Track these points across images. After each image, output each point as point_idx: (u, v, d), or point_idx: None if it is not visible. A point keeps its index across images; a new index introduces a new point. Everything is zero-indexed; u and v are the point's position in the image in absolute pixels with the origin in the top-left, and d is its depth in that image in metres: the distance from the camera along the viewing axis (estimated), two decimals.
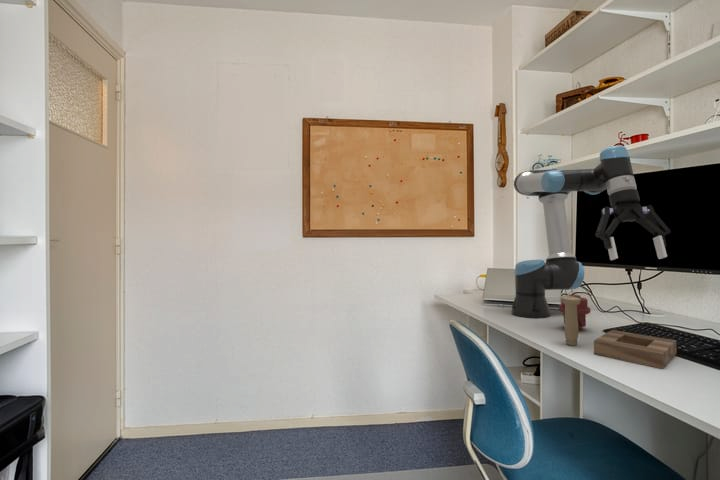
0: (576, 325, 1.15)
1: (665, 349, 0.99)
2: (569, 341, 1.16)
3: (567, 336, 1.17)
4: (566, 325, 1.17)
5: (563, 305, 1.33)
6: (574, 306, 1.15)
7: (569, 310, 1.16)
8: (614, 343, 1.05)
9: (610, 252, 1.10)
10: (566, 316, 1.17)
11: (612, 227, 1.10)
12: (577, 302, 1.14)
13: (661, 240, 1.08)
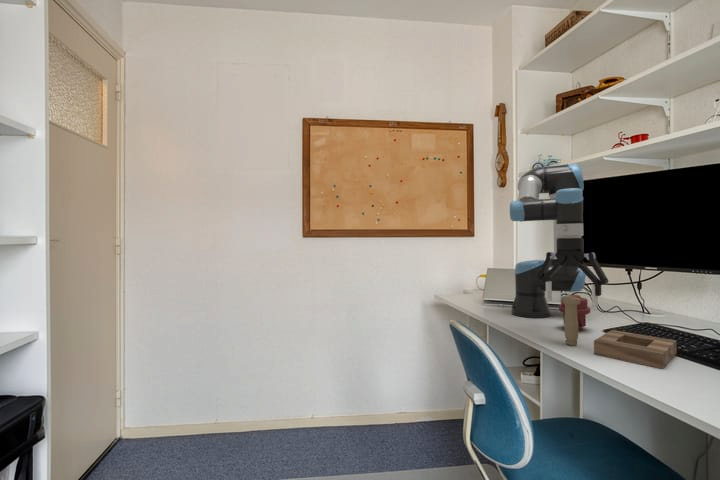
0: (576, 325, 1.15)
1: (665, 349, 0.99)
2: (569, 341, 1.16)
3: (567, 336, 1.17)
4: (566, 325, 1.17)
5: (563, 305, 1.33)
6: (574, 306, 1.15)
7: (569, 310, 1.16)
8: (614, 343, 1.05)
9: None
10: (566, 316, 1.17)
11: (549, 272, 1.20)
12: (577, 302, 1.14)
13: (592, 290, 1.10)
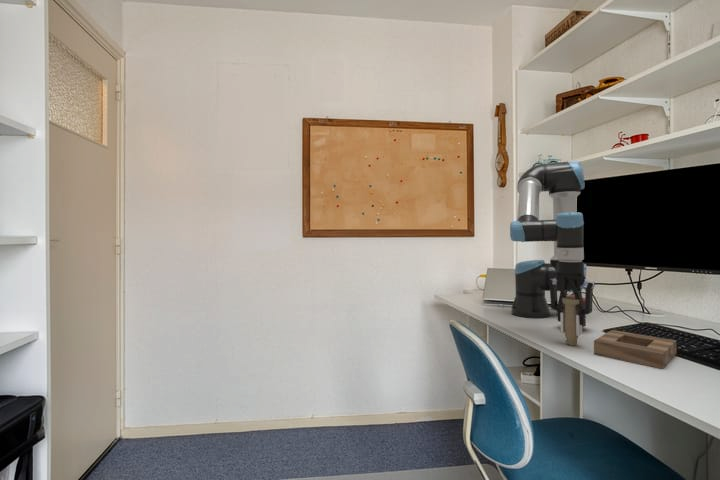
0: None
1: (665, 349, 0.99)
2: (569, 341, 1.16)
3: (567, 336, 1.17)
4: (566, 325, 1.17)
5: None
6: (574, 306, 1.15)
7: (569, 310, 1.16)
8: (614, 343, 1.05)
9: None
10: (566, 316, 1.17)
11: (559, 301, 1.18)
12: (577, 302, 1.14)
13: (577, 319, 1.14)
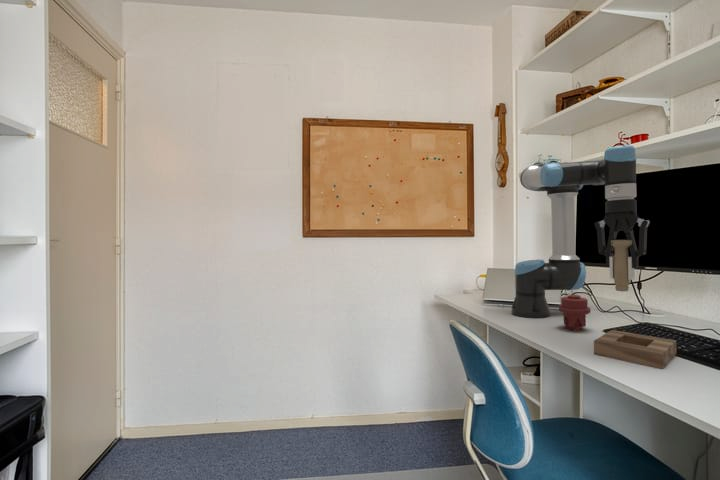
0: (627, 269, 1.06)
1: (665, 349, 0.99)
2: (620, 287, 1.07)
3: (617, 281, 1.07)
4: (616, 269, 1.07)
5: (563, 305, 1.33)
6: (625, 248, 1.06)
7: (620, 253, 1.06)
8: (614, 343, 1.05)
9: None
10: (616, 260, 1.07)
11: (608, 244, 1.09)
12: (629, 243, 1.04)
13: (629, 262, 1.05)
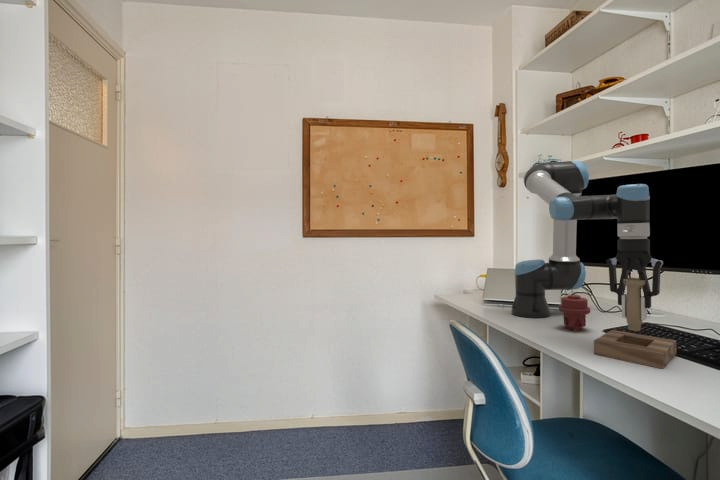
0: (640, 309, 1.05)
1: (665, 349, 0.99)
2: (632, 326, 1.06)
3: (630, 321, 1.06)
4: (629, 309, 1.06)
5: (563, 305, 1.33)
6: (638, 287, 1.04)
7: (633, 292, 1.05)
8: (614, 343, 1.05)
9: None
10: (629, 299, 1.06)
11: (620, 283, 1.08)
12: (643, 283, 1.03)
13: (642, 302, 1.04)
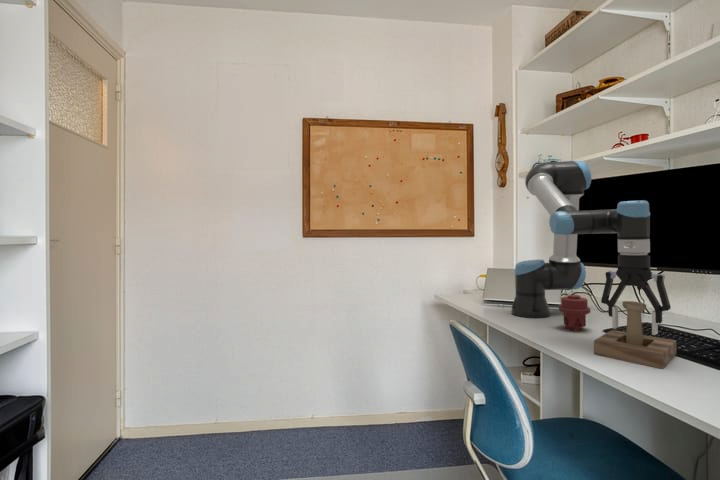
0: (640, 333, 1.05)
1: (665, 349, 0.99)
2: None
3: None
4: (629, 333, 1.06)
5: (563, 305, 1.33)
6: (639, 312, 1.05)
7: (633, 317, 1.05)
8: (614, 343, 1.05)
9: None
10: (629, 323, 1.06)
11: (614, 295, 1.09)
12: (643, 308, 1.03)
13: (653, 317, 1.02)
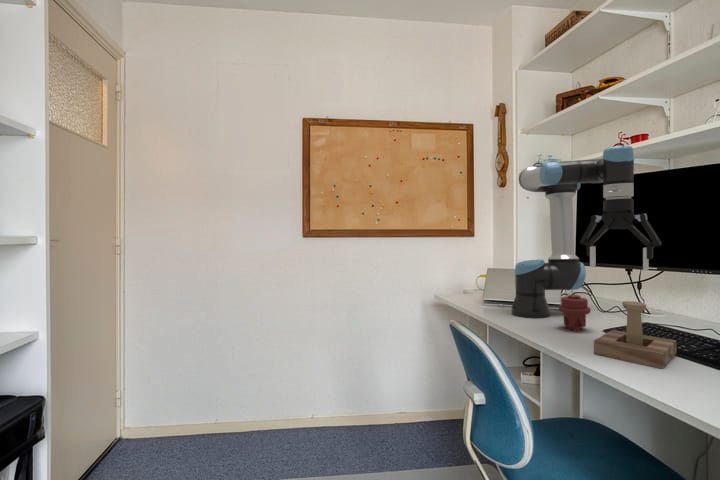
0: (640, 333, 1.05)
1: (665, 349, 0.99)
2: None
3: None
4: (629, 333, 1.06)
5: (563, 305, 1.33)
6: (639, 312, 1.05)
7: (633, 317, 1.05)
8: (614, 343, 1.05)
9: None
10: (629, 323, 1.06)
11: (594, 237, 1.14)
12: (643, 308, 1.03)
13: (644, 253, 1.05)
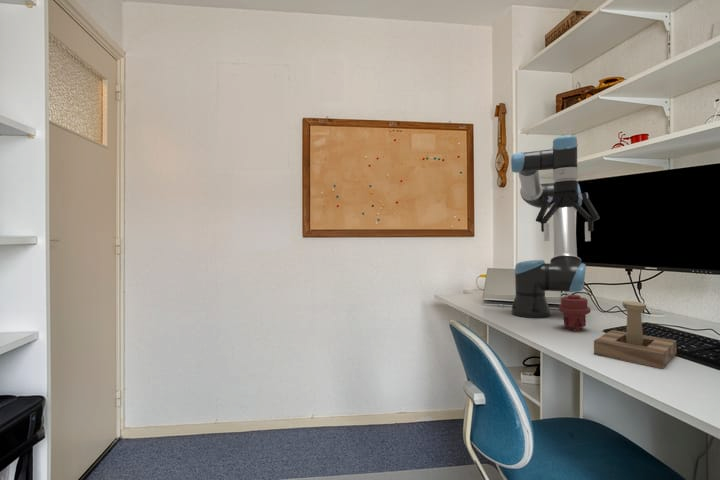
0: (641, 333, 1.05)
1: (665, 349, 0.99)
2: None
3: None
4: (629, 333, 1.06)
5: (563, 305, 1.33)
6: (639, 312, 1.05)
7: (633, 317, 1.05)
8: (614, 343, 1.05)
9: None
10: (629, 323, 1.06)
11: (546, 214, 1.33)
12: (643, 308, 1.03)
13: (585, 226, 1.23)
